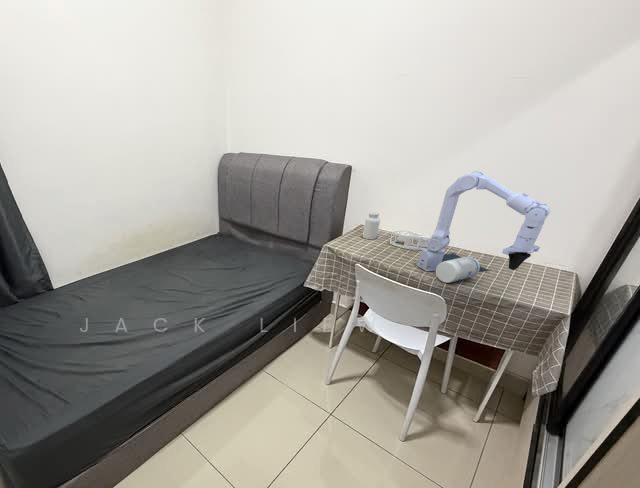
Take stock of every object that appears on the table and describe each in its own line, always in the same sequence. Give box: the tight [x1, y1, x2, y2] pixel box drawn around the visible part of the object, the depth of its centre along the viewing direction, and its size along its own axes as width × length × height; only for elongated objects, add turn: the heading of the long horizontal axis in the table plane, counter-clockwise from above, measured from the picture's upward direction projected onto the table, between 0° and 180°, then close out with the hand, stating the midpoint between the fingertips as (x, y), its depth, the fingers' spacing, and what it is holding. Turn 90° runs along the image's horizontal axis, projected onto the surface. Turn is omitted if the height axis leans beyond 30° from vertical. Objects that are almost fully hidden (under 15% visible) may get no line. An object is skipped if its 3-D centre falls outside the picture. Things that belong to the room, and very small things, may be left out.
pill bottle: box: [362, 211, 381, 240], centre depth 178 cm, size 8×8×15 cm
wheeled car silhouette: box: [389, 229, 432, 251], centre depth 167 cm, size 20×11×7 cm, turn 41°
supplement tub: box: [435, 256, 481, 284], centre depth 131 cm, size 10×10×15 cm
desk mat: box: [442, 253, 488, 272], centre depth 148 cm, size 16×20×1 cm
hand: (512, 268), depth 121 cm, fingers closed
